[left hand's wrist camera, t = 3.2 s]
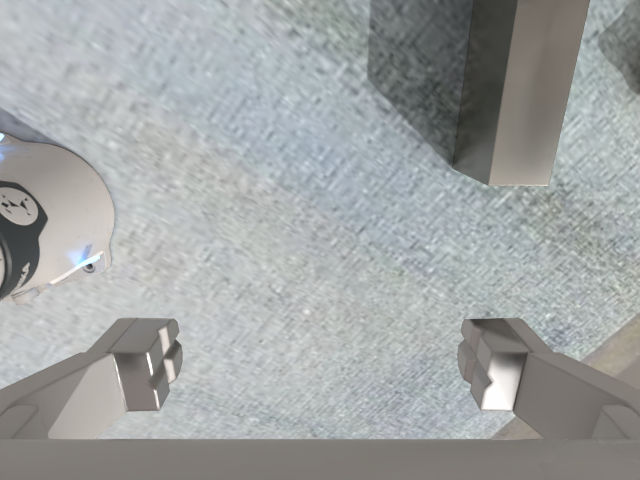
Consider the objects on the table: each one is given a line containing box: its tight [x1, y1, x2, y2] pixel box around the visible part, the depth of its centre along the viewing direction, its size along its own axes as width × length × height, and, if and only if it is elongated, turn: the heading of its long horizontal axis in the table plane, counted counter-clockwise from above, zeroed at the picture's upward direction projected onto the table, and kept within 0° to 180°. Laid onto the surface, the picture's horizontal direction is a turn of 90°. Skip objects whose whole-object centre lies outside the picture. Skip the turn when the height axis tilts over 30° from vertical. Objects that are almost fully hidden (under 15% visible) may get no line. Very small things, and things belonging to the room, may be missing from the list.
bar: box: [453, 0, 590, 186], centre depth 33 cm, size 23×6×9 cm, turn 0°
